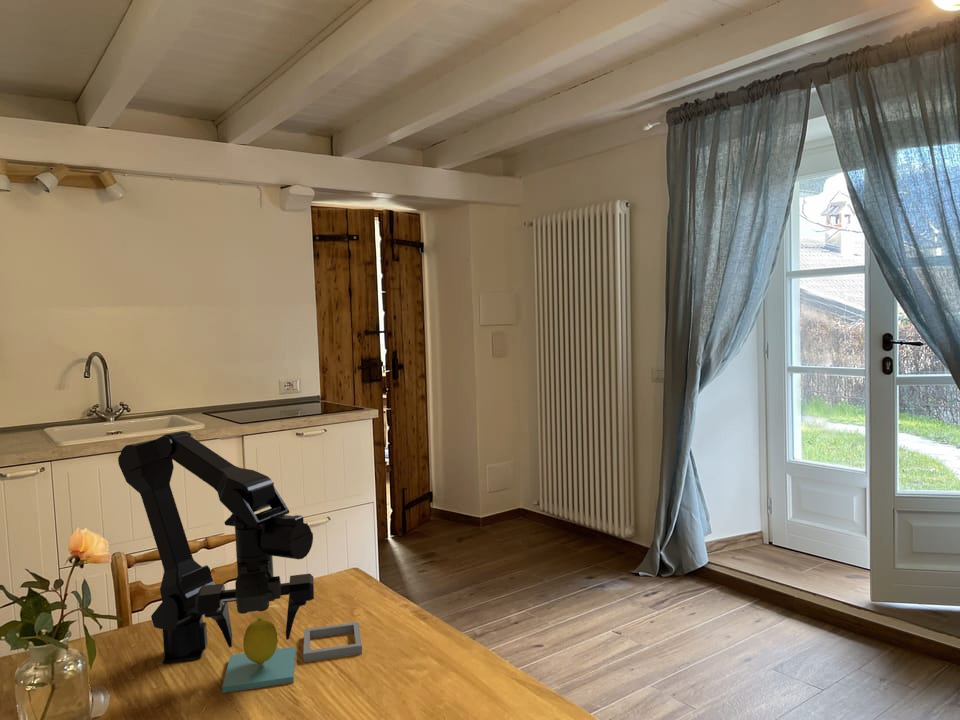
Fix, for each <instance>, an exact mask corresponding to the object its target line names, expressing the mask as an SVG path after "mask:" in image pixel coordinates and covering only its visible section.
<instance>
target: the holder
mask: <svg viewBox="0 0 960 720" xmlns="http://www.w3.org/2000/svg"><path fill="white" fill-rule="evenodd" d="M303 631H304V633H303V663H307V662H308V663H309V662H316V661H321V660H329V659H335V658H342V657H349V656H350V657H351V656H357V655H363V644H362V637H361V630H360V624H359V621H355V622H349V623H341V624H335V625H334V624H333V625H326V626H319V627H318V626H317V627H312V628H304V630H303ZM347 634H353V637H354V643H352V644H347V645H346V644H344V645H338V646H331V647H323V648H317V649H311V639H317V638H324V637H330V636H332V637H333V636H339V635H347Z"/></svg>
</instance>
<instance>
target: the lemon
mask: <svg viewBox="0 0 960 720" xmlns="http://www.w3.org/2000/svg"><path fill="white" fill-rule="evenodd" d="M278 639H279V638H278V632H277V628H276V626H275V624H274V623H273V622H272V621H270V619H269V620H268V619H265V618H263V617H259V618H258V619H256V620H253V621H252V622H251V623H250V624H249V625H248V626H247V628H246V629H245V633H244V636H243V643H242V644H243V652H244V653H245V654H246V656H247V658H248V659H249V660H251V661H252V662H255V663H257V664H258V665H262V664H263V663H264V662H265V661H267V660H269V659H270V658H271V657H272V656H273V655H274V653H275V651H276V649H278V648H277V647H278V641H279V640H278Z"/></svg>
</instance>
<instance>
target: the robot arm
mask: <svg viewBox="0 0 960 720" xmlns="http://www.w3.org/2000/svg"><path fill="white" fill-rule="evenodd" d="M117 462H118V466H119V468H120V470H121V473H122V476H123V478H124V480H125V482H126V483H127V484H128V485H129V486H131V488H133V489H134V490H135V491H136V492H137V493H139V494H140V497H141V500H142V501H141V502H142V504H143V506H144V511H145V513H146V516H147V519H148V522H149V525H150V529H151V532H152V535H153V539H154V542H155V546H156V549H157V551H158V555H159V559H160V562H161V564H162V566H163V576H162V580H161V584H160V588H159V590H160V591H159V593H160V596H161V597H160V598H161V603H160V604H159V605H158V606H157V608H156V609H155V611H154V612H153V613H152V614H151V616H150V618H151V621H152V624H153V627H154V628H155V629H159V630H162V641H163V642H162V643H163V657H162V658H161V663H162V664H168V663H169V664H170V663H175V662H182V661H183V662H184V661H191V660H198V659H201V658H202V656H203V653H204V651H206V649H207V645H208V629H207V622H205V621H204V620H203V617H205V618H206V619H208V618H211V619H212V620H213V621H215V622H216V624H217V626H218V628H219V629H220V631H221V633H222V635H223V637H224V640H225V642H226V644H227V646H228V648H232V647H233V631H232V626H231V625H232V624H231V618H230V610H229V603H231V602H236V609H237V613H239V614H242V615H244V614H247V613H252V612H264V611H267V610H268V609H269V608H270V607H269V606H270V602H274V601H275V600H280V599H281V598H282V597H281V596H288V603H287V604H288V605H287V614H286V625H285V626H286V627H285V639H286V641H287V640H289V639H290V638H291V637H290V635H291V633H292V628H293V624H294V621H295V617H296V616H297V613H298V611H299V609H300V608H301V607H303V606H305V605H306V604H307V602H309V601H312V600H314V599H315V583H314V581H315V580H314V576H313V575H312V574H311V573H303V574H302V573H301V574H295V575H294V574H293V575H290V576H289V582H283V583H281V578H280V577H281V576H279V575H278V576H274V562H273V561H274V560H273V559H274V558H273V557H279V558H285V559H293V560H303V559H305V557H307V556H308V555H309V553H310V551H311V549H312V546H313V542H314V532H312V529H311V527H310V526H309V525H308V523H305V522H304V515H301V514H300V515H299V514H298V515H288V514H290V510H289V508H288V506H287V504H286V502H285V501H284V500H283V498H282V497H281V495H280V493H279V491H278V490H277V489H276V487H275V485H274V484H275V483H274V481H273V479H272V478H271V477H269V476H268V475H266V474H264V473H262V472H258V471H256V470H254V469H250V468H242V467H239V466H236V465H234V464H233V463H232V462H230V461H228V460H227V459H225V458H224V457H222V456H221V455H219V453H216V452H215V451H213V450H212V449H210V448H209V447H208V446H206V445H204V444H203V443H202V442H200V441H198V440H197V439H195V438H194V436H193V435H192V433H191V432H189V431H185V430H180V431H176V432H170V433H164V435H162V436H159V437H158V438H155V439H151V440H146V441H142V442H138V443H137V442H136V443H131V444H126V445H125V446H124V447H123V448H122V449H121V451H120V454H119V455H118V457H117ZM174 462H176V463H177V464H178V465H180V466H182V467H183V468H184V469H185V470H187V471H189V472H190V473H191V474H193V475H194V476H196V477H197V478H199V479H200V480H201V481H203V482H205V483H206V484H208V486H211V488H213V489H214V490H215V491H216V492H217V496H218V500H219V501H220V503H221V504H222V505H224V506H225V508H226V509H228V510H229V512H230V513H231V515H230V516H229V517H228V518H227V519H226V520H225V521H224V525H225V526H229V527H234V537H235V552H236V553H235V554H236V570H237V571H236V572H237V576H236V578H235V579H236V580H235V589H234V588H231V589H226V587H225V584H224V583H217V584H216V583H215V581H214V579H213V577H212V572H211V568H210V567H209V566H208V564H206V565H203V566H202V565H200V564H199V563H198V562H197V561H195V560H194V559H195V558H194V556H193V554H192V551H191V548H190V544H189V542H188V538H187V535H186V532H185V529H184V526H183V523H182V518H181V516H180V513H179V510H178V506H177V504H176V500H175V497H174V495H173V491H172V488H171V480H172V477H173V471H174V469H175V468H174ZM269 507H270V508H269ZM266 508H268V509H266ZM265 509H266V510H265ZM261 510H263V511H261ZM259 511H260V512H259ZM256 512H257V513H256ZM203 615H204V616H203Z"/></svg>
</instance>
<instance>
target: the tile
mask: <svg viewBox="0 0 960 720" xmlns="http://www.w3.org/2000/svg"><path fill="white" fill-rule="evenodd" d="M296 651H297V649H296V645H295V646H289V647H288V646H287V647H281V648H280V647H279V648H276V651H275V653H274V655H273V656H272V657H271V658H270V659H269V660H267V661H265V662H264V663H263V664H262V665H258V664H257V663H255V662H252V661H251V660H249V659H248V658H247V656H246V654H245V652H244V653H243V652H242V653H238V654H231V655H230V656H229V660H228V664H227V668H226V672H225V675H224V679H223V682H222V683H223V684H222V686H221V687H222V694H227V693H233V692H239V691H246V690H254V689H258V688H259V689H260V688H267V687H272V686H280V685H286V684H294V683H295V672H296V671H295V670H296V669H295V668H296V656H297V655H296Z"/></svg>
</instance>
